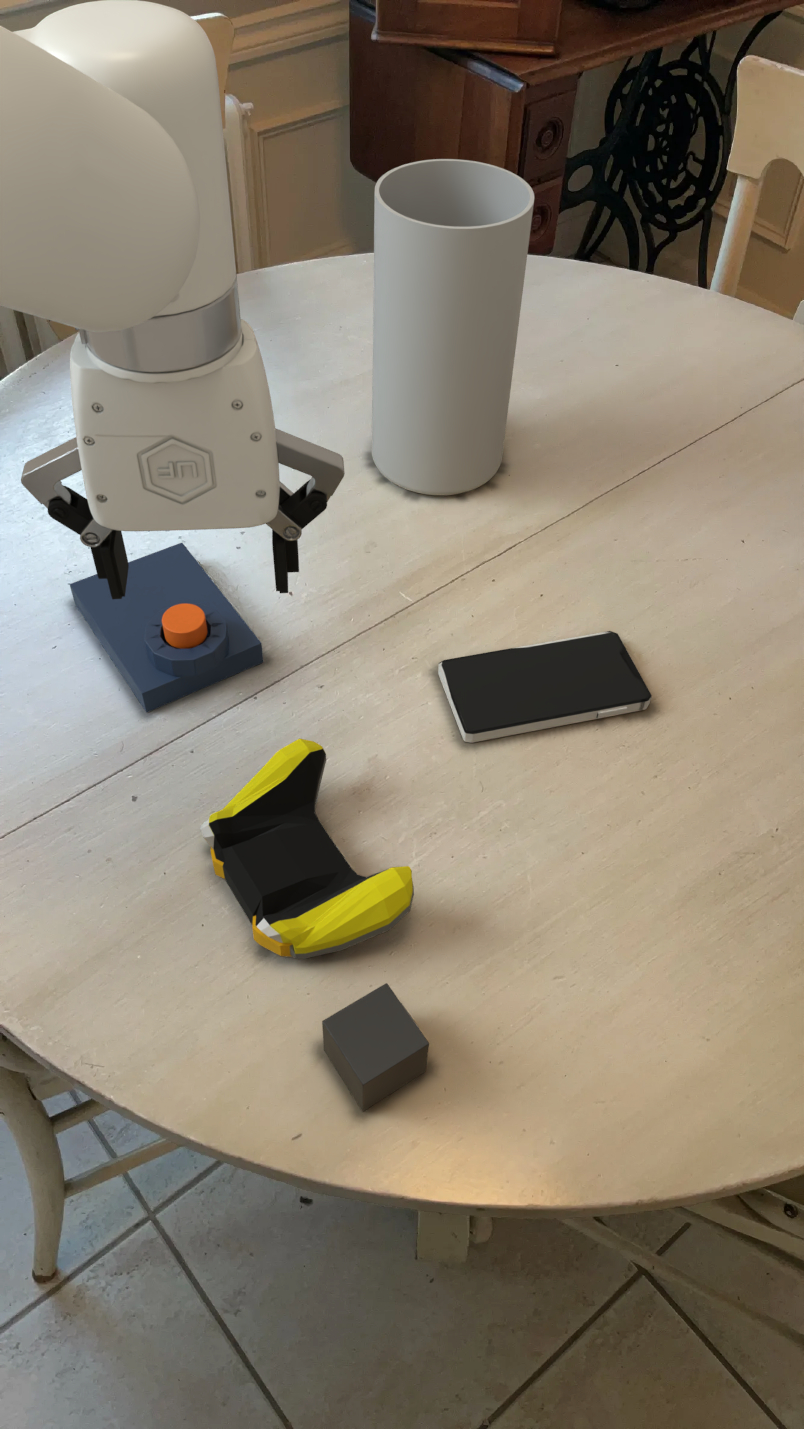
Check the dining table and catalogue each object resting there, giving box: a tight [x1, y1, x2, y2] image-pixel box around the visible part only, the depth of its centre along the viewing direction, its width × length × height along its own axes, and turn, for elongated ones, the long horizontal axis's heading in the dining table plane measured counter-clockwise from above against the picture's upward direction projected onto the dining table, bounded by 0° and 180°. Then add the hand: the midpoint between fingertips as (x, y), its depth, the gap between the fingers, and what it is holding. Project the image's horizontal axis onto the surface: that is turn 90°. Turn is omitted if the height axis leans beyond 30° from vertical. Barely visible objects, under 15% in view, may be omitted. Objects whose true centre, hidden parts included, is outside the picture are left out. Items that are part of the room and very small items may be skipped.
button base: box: [69, 542, 264, 713], centre depth 83 cm, size 15×10×4 cm
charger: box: [321, 982, 430, 1112], centre depth 61 cm, size 5×4×4 cm
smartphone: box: [437, 630, 653, 743], centre depth 82 cm, size 8×1×15 cm
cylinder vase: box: [371, 158, 535, 496], centre depth 92 cm, size 12×12×25 cm
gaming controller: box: [200, 738, 415, 959], centre depth 68 cm, size 15×6×10 cm
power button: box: [162, 603, 207, 649], centre depth 79 cm, size 3×3×2 cm
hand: (202, 580), depth 63 cm, fingers open, 9 cm apart
